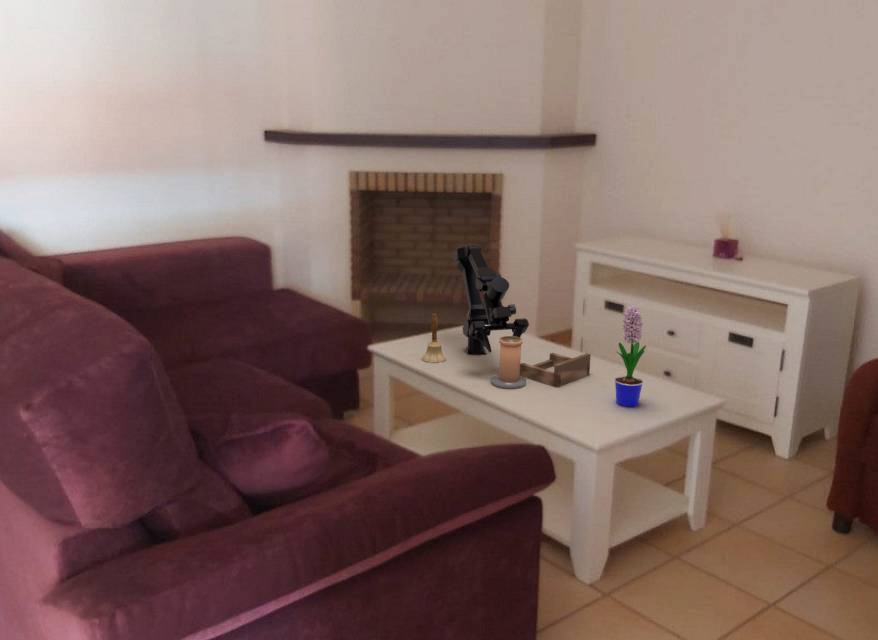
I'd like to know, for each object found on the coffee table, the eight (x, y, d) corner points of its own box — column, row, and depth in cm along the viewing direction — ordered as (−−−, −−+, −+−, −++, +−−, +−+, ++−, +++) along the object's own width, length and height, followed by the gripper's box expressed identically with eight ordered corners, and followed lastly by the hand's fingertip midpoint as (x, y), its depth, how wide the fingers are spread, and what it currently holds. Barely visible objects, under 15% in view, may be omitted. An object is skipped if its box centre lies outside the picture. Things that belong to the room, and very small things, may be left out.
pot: (503, 374, 271) (504, 334, 267) (524, 377, 268) (526, 337, 264) (494, 380, 264) (495, 340, 261) (515, 384, 261) (517, 343, 258)
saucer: (488, 377, 271) (488, 373, 271) (523, 377, 272) (523, 373, 271) (493, 389, 260) (493, 385, 260) (528, 389, 261) (528, 385, 261)
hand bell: (446, 363, 284) (447, 317, 280) (421, 363, 284) (422, 316, 280) (446, 355, 292) (446, 310, 288) (422, 355, 292) (422, 310, 288)
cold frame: (519, 375, 273) (520, 354, 271) (551, 364, 285) (553, 344, 283) (557, 387, 263) (558, 365, 261) (589, 374, 275) (590, 354, 273)
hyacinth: (648, 400, 253) (657, 302, 245) (635, 411, 245) (644, 310, 237) (621, 394, 258) (628, 298, 250) (607, 404, 249) (614, 305, 241)
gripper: (472, 297, 266) (482, 341, 259) (528, 294, 271) (539, 337, 264) (464, 314, 275) (473, 357, 268) (518, 311, 280) (529, 353, 273)
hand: (504, 351), depth 268 cm, fingers open, 9 cm apart
